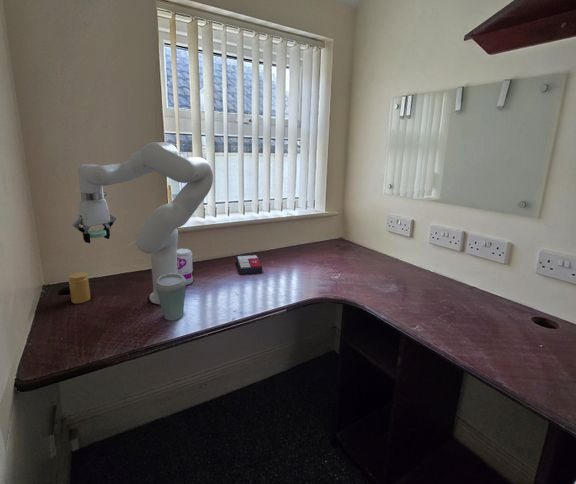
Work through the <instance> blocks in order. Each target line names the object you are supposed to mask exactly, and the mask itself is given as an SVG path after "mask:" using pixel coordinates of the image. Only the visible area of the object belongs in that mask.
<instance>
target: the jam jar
mask: <svg viewBox="0 0 576 484" xmlns="http://www.w3.org/2000/svg"><path fill="white" fill-rule="evenodd" d="M67 281H68V287H69V295H70V301H71V303H72V304H83V303H86V302H88V301H90V300H91V299H92V298H91V297H92V296H91V289H90V280H89V276H88V273H87V272H86V271H78V272H73V273H71V274H69V275H68V280H67Z"/></svg>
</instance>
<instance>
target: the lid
mask: <svg viewBox="0 0 576 484" xmlns="http://www.w3.org/2000/svg"><path fill="white" fill-rule="evenodd" d="M88 233H89V234H90V239H98V238H104V236H106V234H107V232H106V230H103V228H101V229H99V228H98V229H97V228H96V229H91V230H88Z"/></svg>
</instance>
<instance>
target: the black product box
mask: <svg viewBox="0 0 576 484" xmlns="http://www.w3.org/2000/svg"><path fill="white" fill-rule="evenodd" d="M236 266H237V268H238V271H239V272H238V273H239V275H249V274H263V266H262V264H261V262H260V260H259V257H258V255H256V254H254V255H238V256H236Z"/></svg>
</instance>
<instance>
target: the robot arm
mask: <svg viewBox="0 0 576 484" xmlns="http://www.w3.org/2000/svg"><path fill="white" fill-rule="evenodd" d="M179 154H180V153H179V151H178V149H177V147H176V146H175V145H174V144H172V143H169V142H163V141H162V142H161V141H160V142H159V141H157V142H156V141H152V142H148V143H146V144H145V145H143V147H142V148H141V149H140V150H138V151H134V152H132V153H131V154H130V156H129V159H127V160H126V161H122V162H119V163H110V164H103V165H100V164H93V163H83V164H79V165H77V175H78V184H79V191H80V200H79V201H78V207H77V219H76V220H75V221H74V222H73V224H72V227H73V228H75V229H76V230H78V231H79V232H80V233H82V238H83V241H84V243H86V244H90V243H91V238H90V234H89V233H88V231H90V228H91V227H95V226H100V225H102V227H103V228H102V229H103V230H106V232H107V234H106V236H103V238H105V239H106V240H110V238H111V232H110V230H111V227H112V226H113V225H114V223H115V221H116V220H117V218H116V217H115V216H113V215H112V214H110V209H109V206H108V203H107V200H106V198H105V196H107V195H108V193H107V192H106V191H104V187H105V186H112V185H117V184H123V183H126V182H130V181H132V180H135V179H138V178H140V177H144V176H145V175H148V174H151V173H153V172H157V173H159V174H161V175H162V176H164V177H166V178H168V179H170V180H173V181H174V182H177V183H181V184H185V185H184V186H183V187H181V189H180V190H179V191H178V193H177V195H176V196H175V197H174V198H173V199H172V201H170V202H168V203H165V204H162V205H160V206H158V207H156V208H155V209H154V210H153V211H152V212H151V213H150V215H149V216H148V217H147V219H146V220H145V221H144V223H143V224H142V225H141V227H140V228H139V230H138V231H137V233H136V236H135V245H136V247H137V248H138V250H139V251H141V252H142V253H145V254H150V265H151V278H152V292H151V293H150V295H149V301H150V302H151V303H153V304H155V305H161V304H160V301H159V297H158V293H157V290H156V288H155V282H156V281H157V278H159V277H160V276H161V275H164V274H168V273H178V269H177V249H178V242H179V230H178V229H179V228H181V227H183V226H184V225H186V224H187V223H188V222H189V220H190V218H191V217H192V216H193V215H194V213H195V212H196V211H197V209H198V208H199V206H200V205H201V204H202V202H203V201H204V200H205V198H207V195H208V194H209V193H210V191H211V189H212V186H213V183H214V171H213V169H212V166H211V165H210V163H209V161H207V160H206V159H205V158H203V157H200V156H186V157H185V156H184V157H183V156H182V155H179ZM81 226H82V227H81Z"/></svg>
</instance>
